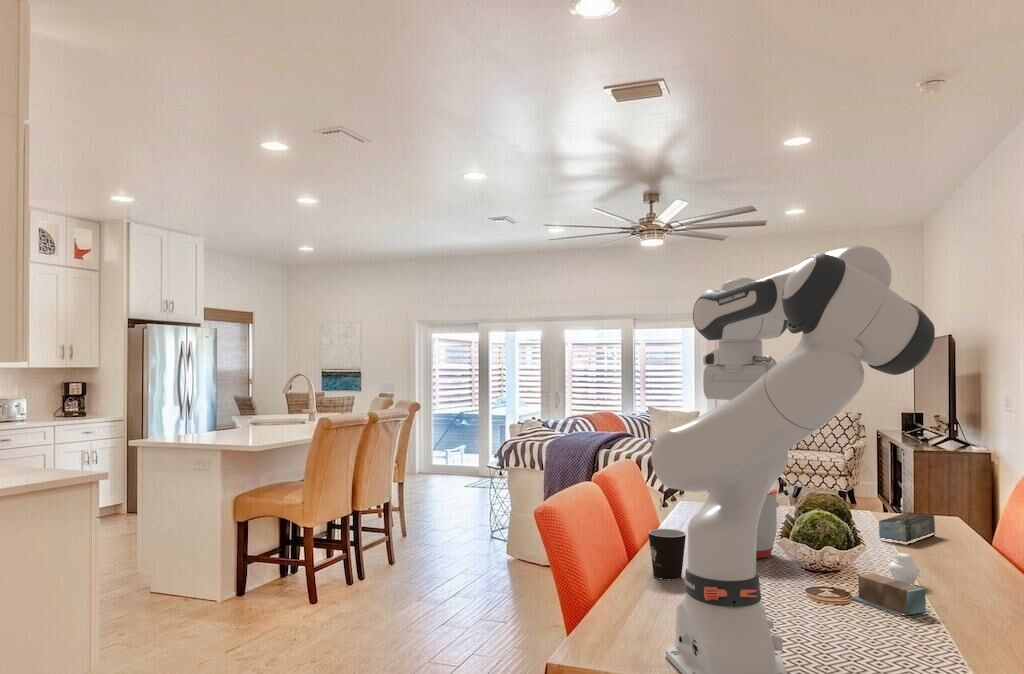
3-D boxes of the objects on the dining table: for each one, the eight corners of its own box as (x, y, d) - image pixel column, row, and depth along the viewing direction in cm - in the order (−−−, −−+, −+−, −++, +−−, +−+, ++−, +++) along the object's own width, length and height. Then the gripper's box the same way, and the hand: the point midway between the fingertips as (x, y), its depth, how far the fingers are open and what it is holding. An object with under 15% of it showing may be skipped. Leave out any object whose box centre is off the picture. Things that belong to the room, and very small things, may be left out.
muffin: (902, 579, 168) (902, 548, 168) (926, 586, 162) (925, 554, 163) (882, 581, 166) (882, 550, 166) (906, 589, 160) (905, 557, 160)
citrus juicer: (797, 558, 187) (795, 479, 188) (742, 564, 180) (741, 483, 181) (755, 544, 201) (754, 471, 202) (703, 550, 195) (702, 474, 196)
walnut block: (925, 588, 144) (873, 573, 155) (909, 591, 143) (858, 575, 154) (925, 611, 144) (874, 594, 155) (909, 614, 142) (858, 597, 153)
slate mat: (928, 611, 146) (928, 609, 146) (899, 616, 143) (899, 614, 143) (876, 594, 157) (876, 592, 157) (849, 598, 154) (849, 597, 154)
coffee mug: (687, 582, 165) (686, 537, 166) (648, 580, 167) (648, 536, 167) (685, 568, 176) (685, 527, 177) (649, 566, 178) (648, 525, 179)
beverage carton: (877, 541, 206) (877, 517, 207) (908, 532, 218) (907, 510, 218) (906, 546, 200) (906, 522, 200) (936, 537, 212) (936, 514, 212)
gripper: (788, 355, 145) (789, 425, 145) (720, 357, 164) (721, 419, 163) (763, 355, 143) (764, 426, 142) (697, 357, 162) (698, 419, 161)
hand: (741, 422), depth 153 cm, fingers closed
